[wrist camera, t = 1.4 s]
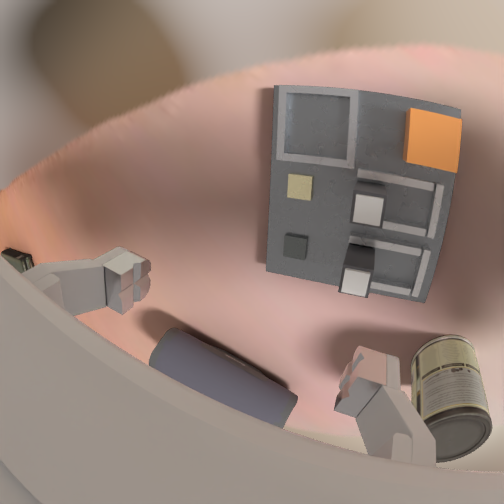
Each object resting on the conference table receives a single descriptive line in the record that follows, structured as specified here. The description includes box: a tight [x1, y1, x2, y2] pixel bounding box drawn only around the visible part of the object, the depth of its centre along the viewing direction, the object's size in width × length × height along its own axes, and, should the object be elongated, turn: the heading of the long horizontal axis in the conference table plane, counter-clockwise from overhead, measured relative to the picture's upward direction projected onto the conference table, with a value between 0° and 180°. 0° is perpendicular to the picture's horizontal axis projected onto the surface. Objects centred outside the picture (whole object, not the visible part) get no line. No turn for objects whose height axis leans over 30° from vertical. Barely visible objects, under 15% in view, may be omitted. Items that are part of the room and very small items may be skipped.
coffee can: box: [411, 335, 492, 463], centre depth 28 cm, size 10×10×14 cm
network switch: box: [1, 248, 34, 274], centre depth 74 cm, size 23×23×5 cm
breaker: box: [338, 244, 375, 298], centre depth 29 cm, size 3×3×6 cm
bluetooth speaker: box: [149, 328, 298, 429], centre depth 45 cm, size 23×9×10 cm, turn 72°
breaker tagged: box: [349, 181, 387, 229], centre depth 27 cm, size 3×3×6 cm
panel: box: [266, 85, 461, 303], centre depth 30 cm, size 20×22×3 cm
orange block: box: [403, 108, 462, 173], centre depth 23 cm, size 5×5×4 cm
